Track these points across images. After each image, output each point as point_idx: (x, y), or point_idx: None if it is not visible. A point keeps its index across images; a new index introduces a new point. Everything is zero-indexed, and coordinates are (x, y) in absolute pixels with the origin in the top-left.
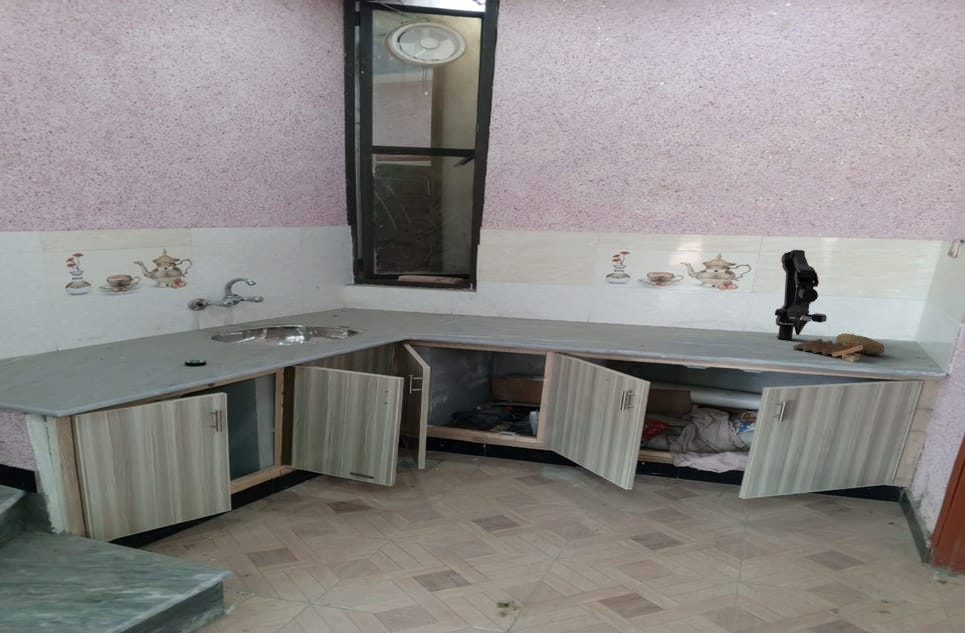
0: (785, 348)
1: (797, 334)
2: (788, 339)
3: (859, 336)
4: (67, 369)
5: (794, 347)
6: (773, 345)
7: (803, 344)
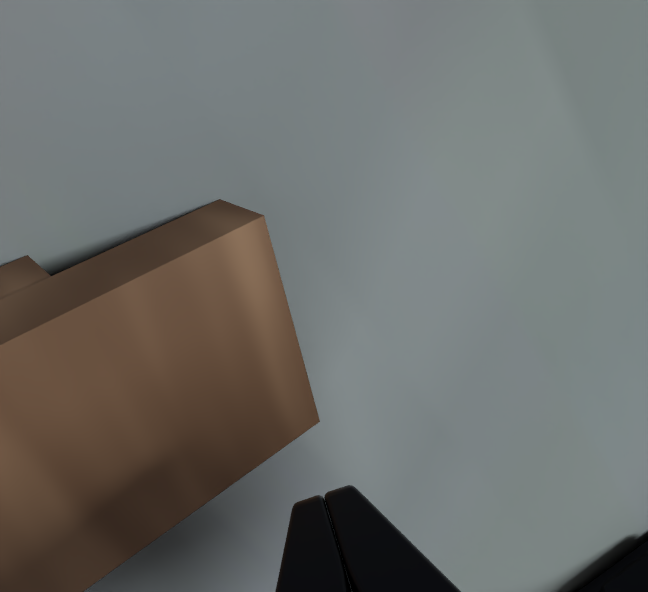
0: (366, 124)
1: (315, 507)
2: (609, 580)
3: None
4: None
5: (220, 220)
6: (618, 117)
7: (13, 324)
